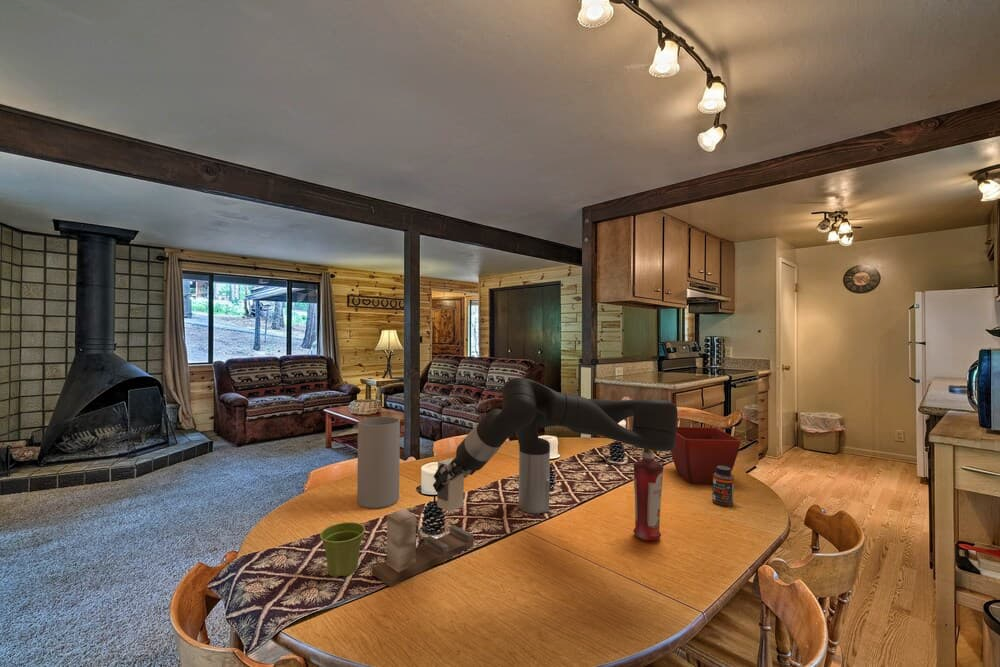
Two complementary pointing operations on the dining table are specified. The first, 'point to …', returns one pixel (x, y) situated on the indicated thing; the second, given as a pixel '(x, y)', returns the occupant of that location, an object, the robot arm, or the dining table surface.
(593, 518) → the dining table surface
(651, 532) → the liquor
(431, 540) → the grey long stand
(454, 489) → the block
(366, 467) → the cylinder vase
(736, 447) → the plant pot
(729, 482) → the supplement bottle
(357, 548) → the plant pot
